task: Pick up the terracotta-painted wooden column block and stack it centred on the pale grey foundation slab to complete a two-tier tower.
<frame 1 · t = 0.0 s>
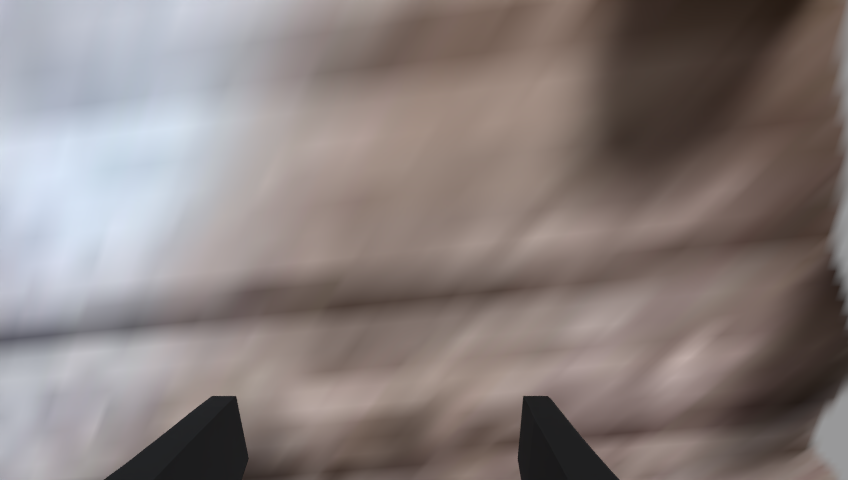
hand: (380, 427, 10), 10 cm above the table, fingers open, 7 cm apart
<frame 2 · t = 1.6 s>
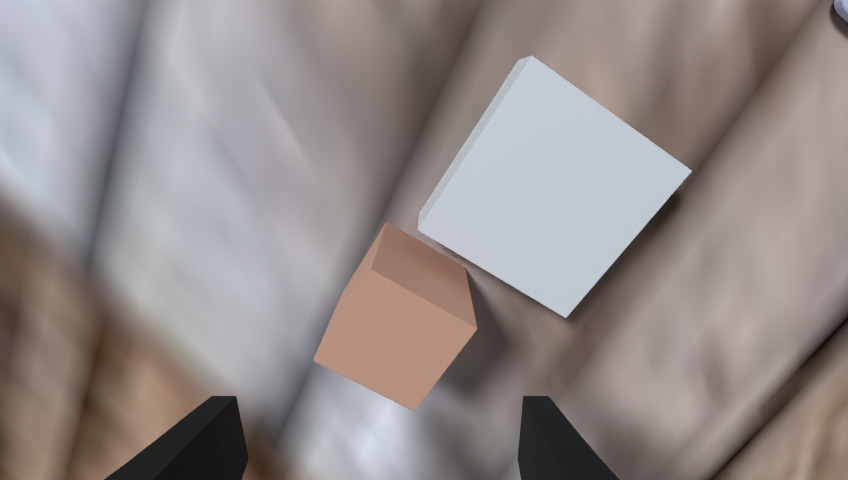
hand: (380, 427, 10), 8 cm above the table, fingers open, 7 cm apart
foundation slab: (534, 186, 17), on the table
column block: (402, 280, 18), on the table
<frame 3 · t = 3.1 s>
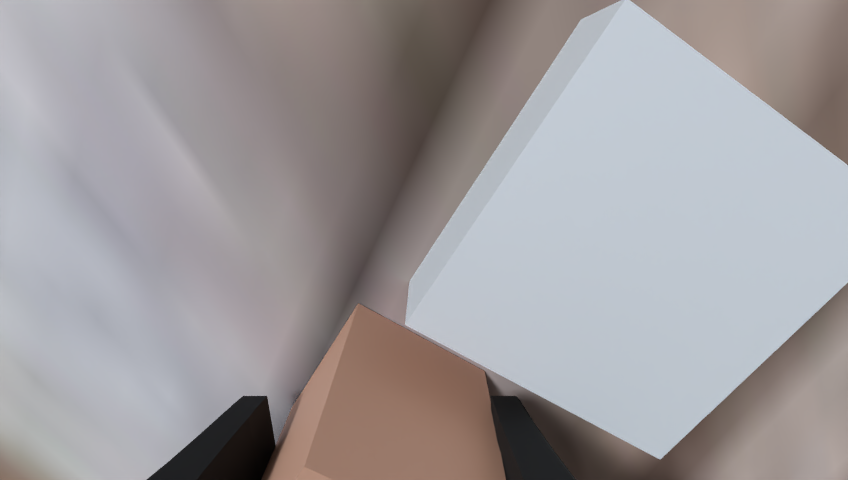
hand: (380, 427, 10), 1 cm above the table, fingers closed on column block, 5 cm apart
foundation slab: (598, 233, 11), on the table
column block: (386, 389, 12), on the table, touching gripper
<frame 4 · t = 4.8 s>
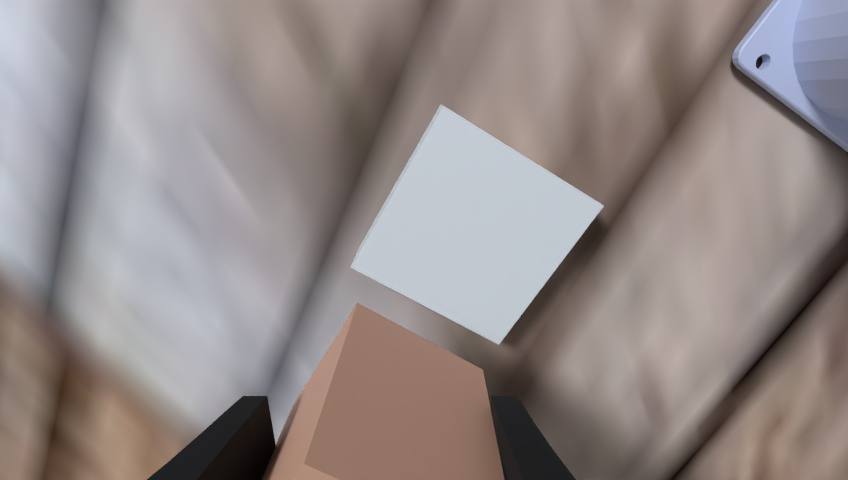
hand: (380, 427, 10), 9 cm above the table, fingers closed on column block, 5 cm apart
foundation slab: (467, 218, 18), on the table
column block: (385, 388, 12), point 7 cm above the table, touching gripper
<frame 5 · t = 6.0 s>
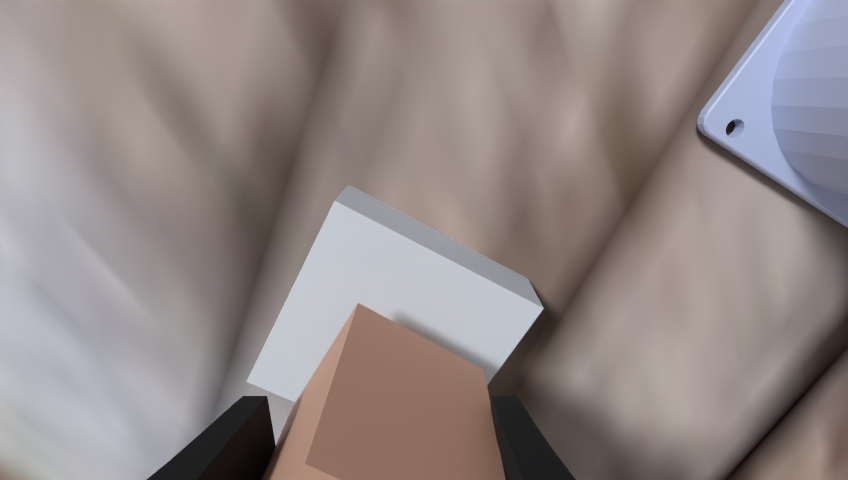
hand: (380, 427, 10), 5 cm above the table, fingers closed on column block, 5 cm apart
foundation slab: (395, 307, 15), on the table
column block: (386, 388, 12), point 4 cm above the table, touching gripper
when the fingers open (5 cm above the table, at t = 6.6 s): column block drops 1 cm, point 2 cm above the table.
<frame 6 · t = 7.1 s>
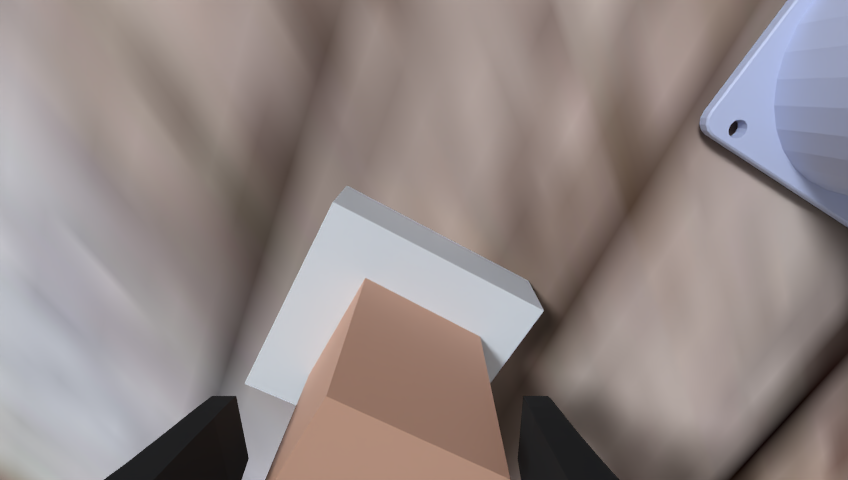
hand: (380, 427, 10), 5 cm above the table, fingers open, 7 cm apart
foundation slab: (394, 308, 15), on the table
column block: (392, 356, 13), point 2 cm above the table
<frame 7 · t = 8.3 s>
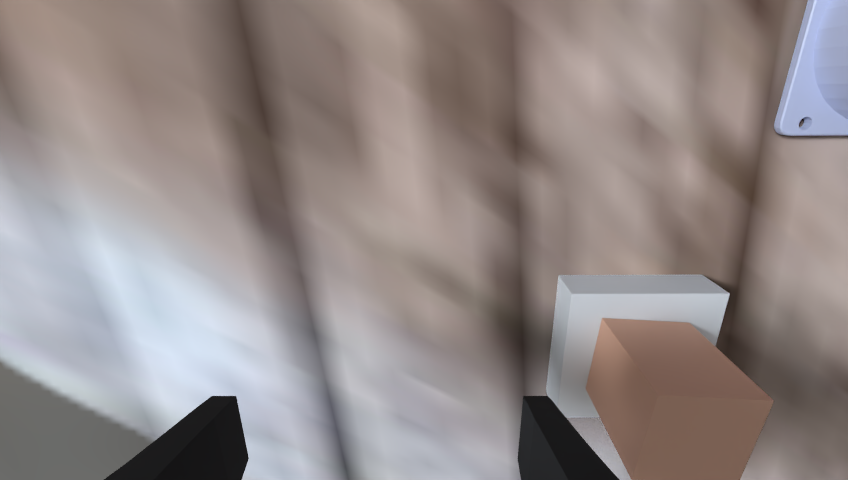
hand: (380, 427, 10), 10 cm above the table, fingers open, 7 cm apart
foundation slab: (615, 330, 22), on the table, touching column block
column block: (635, 356, 20), point 2 cm above the table, touching foundation slab
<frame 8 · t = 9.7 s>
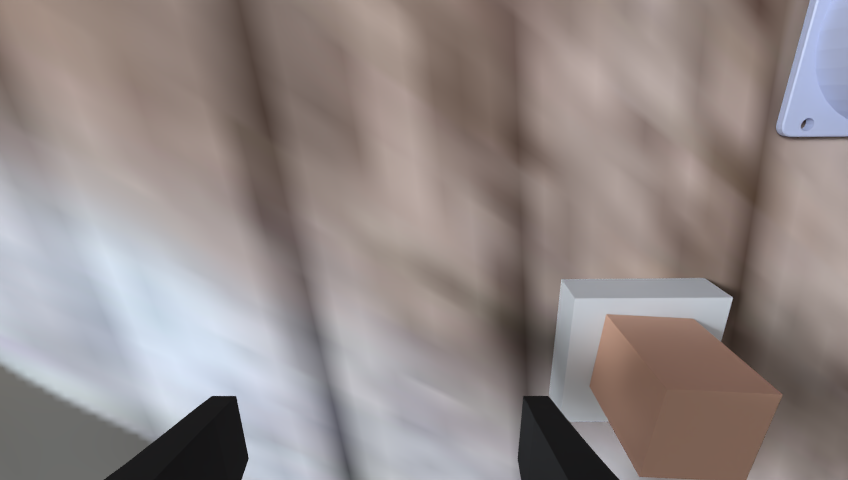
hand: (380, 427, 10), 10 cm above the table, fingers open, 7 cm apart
foundation slab: (618, 334, 22), on the table
column block: (639, 353, 19), point 2 cm above the table
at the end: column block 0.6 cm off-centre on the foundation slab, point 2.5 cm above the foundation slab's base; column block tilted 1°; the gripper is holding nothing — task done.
